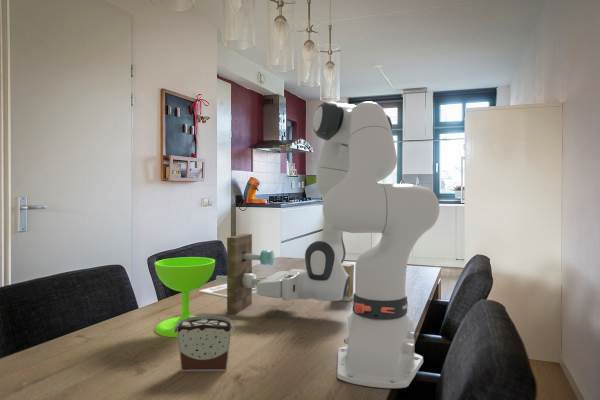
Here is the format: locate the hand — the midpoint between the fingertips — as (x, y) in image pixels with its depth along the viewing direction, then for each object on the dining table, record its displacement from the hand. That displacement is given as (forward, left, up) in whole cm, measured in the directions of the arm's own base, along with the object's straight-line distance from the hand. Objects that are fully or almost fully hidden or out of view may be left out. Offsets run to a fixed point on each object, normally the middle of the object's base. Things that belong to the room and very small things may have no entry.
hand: (254, 280), depth 136 cm
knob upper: (0, +1, +5) cm, 5 cm away
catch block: (0, +5, -9) cm, 10 cm away
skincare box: (+21, -24, -9) cm, 33 cm away
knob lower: (0, +7, -2) cm, 7 cm away
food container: (-43, -7, -9) cm, 45 cm away
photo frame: (+20, +18, -10) cm, 28 cm away
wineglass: (-22, +11, -9) cm, 26 cm away
